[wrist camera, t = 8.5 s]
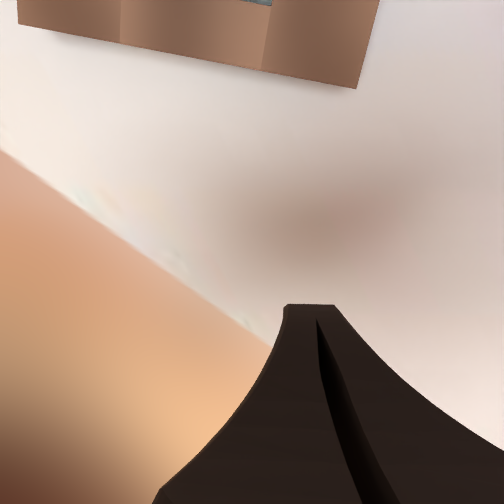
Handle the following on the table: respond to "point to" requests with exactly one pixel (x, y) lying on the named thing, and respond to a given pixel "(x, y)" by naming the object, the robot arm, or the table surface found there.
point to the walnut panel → (226, 31)
